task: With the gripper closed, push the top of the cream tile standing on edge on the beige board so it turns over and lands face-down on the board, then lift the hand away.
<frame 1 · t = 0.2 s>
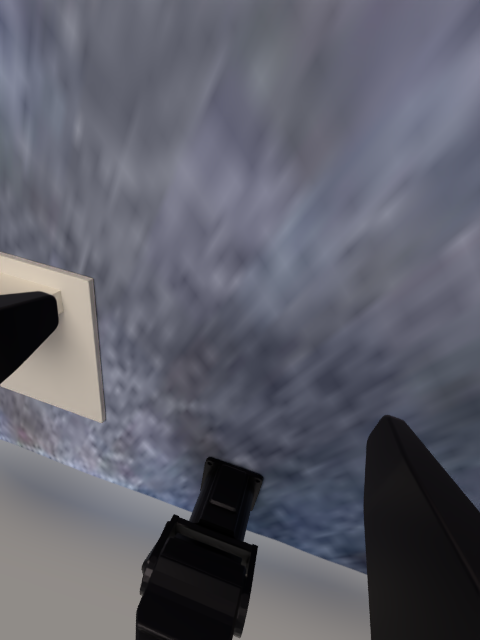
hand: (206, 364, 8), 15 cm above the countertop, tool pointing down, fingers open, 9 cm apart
beige board: (41, 340, 31), on the countertop
tile: (25, 291, 28), point 1 cm above the countertop, touching beige board
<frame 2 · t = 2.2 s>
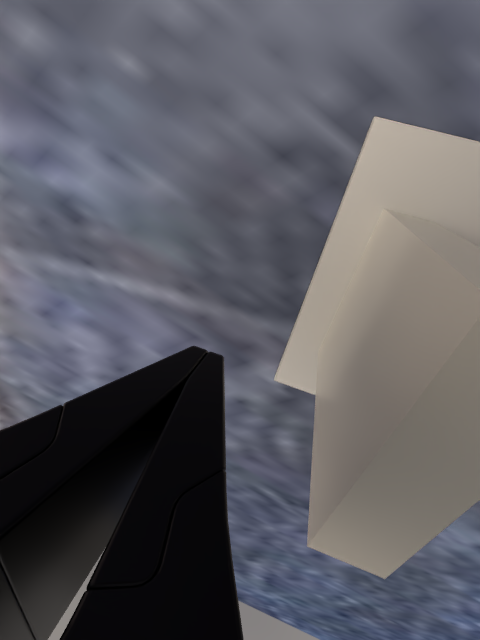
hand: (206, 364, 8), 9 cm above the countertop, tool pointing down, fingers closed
tile: (371, 297, 15), point 1 cm above the countertop, touching beige board
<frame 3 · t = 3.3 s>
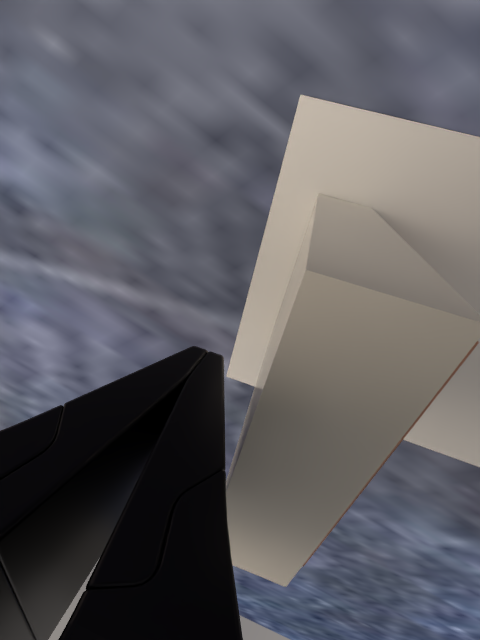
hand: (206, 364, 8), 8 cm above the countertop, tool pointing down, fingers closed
beige board: (439, 322, 14), on the countertop
tile: (314, 288, 14), point 1 cm above the countertop, touching beige board
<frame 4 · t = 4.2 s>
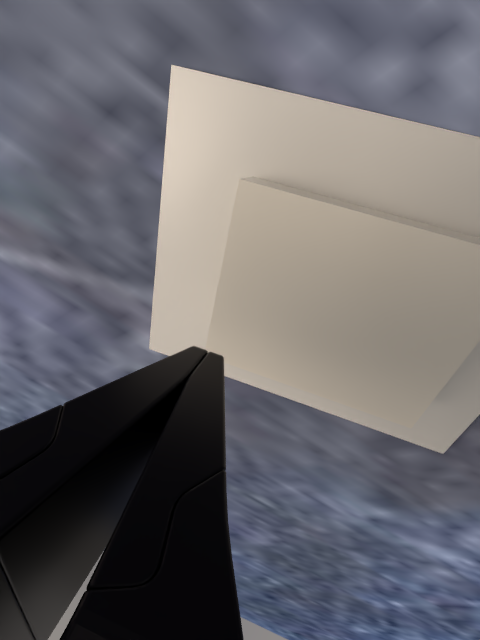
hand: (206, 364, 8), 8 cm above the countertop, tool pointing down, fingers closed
beige board: (331, 289, 15), on the countertop
tile: (227, 272, 14), point 2 cm above the countertop, tilted 90°, touching beige board
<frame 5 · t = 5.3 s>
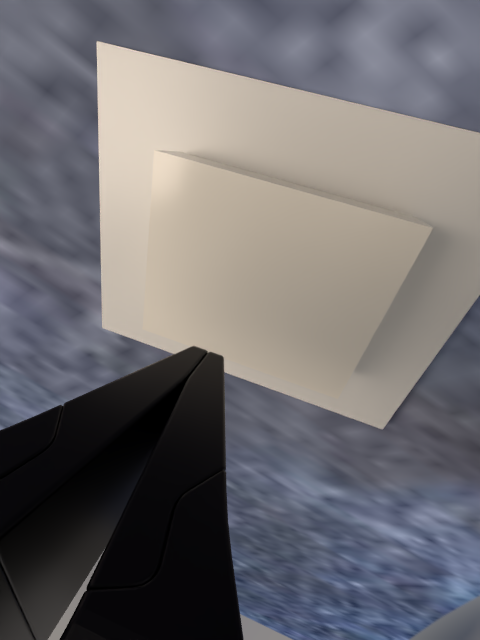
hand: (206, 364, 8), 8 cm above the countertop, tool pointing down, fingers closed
beige board: (267, 265, 15), on the countertop
tile: (161, 246, 14), point 2 cm above the countertop, tilted 90°, touching beige board
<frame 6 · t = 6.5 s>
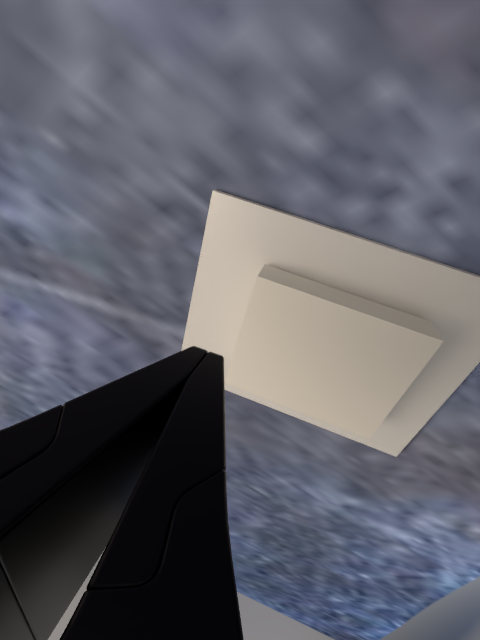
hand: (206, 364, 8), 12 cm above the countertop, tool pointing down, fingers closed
beige board: (317, 337, 20), on the countertop
tile: (244, 325, 19), point 2 cm above the countertop, tilted 90°, touching beige board
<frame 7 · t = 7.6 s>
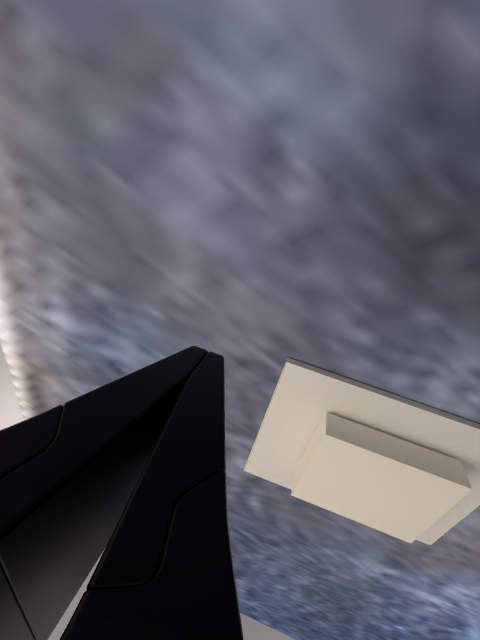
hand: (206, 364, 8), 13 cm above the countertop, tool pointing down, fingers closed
beige board: (365, 456, 25), on the countertop
tile: (307, 453, 24), point 2 cm above the countertop, tilted 90°, touching beige board
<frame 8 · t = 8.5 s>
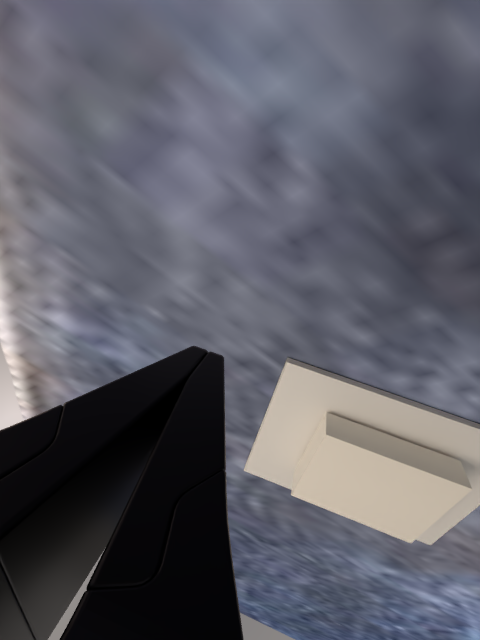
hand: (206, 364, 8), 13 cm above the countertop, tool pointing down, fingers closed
beige board: (365, 456, 25), on the countertop
tile: (307, 453, 24), point 2 cm above the countertop, tilted 90°, touching beige board
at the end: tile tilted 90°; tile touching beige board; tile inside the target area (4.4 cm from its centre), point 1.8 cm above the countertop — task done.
